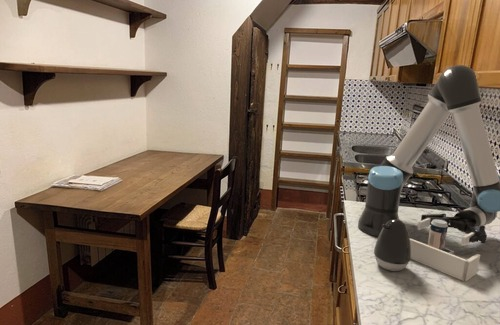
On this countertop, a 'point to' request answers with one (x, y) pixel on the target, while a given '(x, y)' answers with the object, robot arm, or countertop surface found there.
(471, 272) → the walled box
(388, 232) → the black glossy domed part
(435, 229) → the beer can
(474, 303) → the countertop surface
